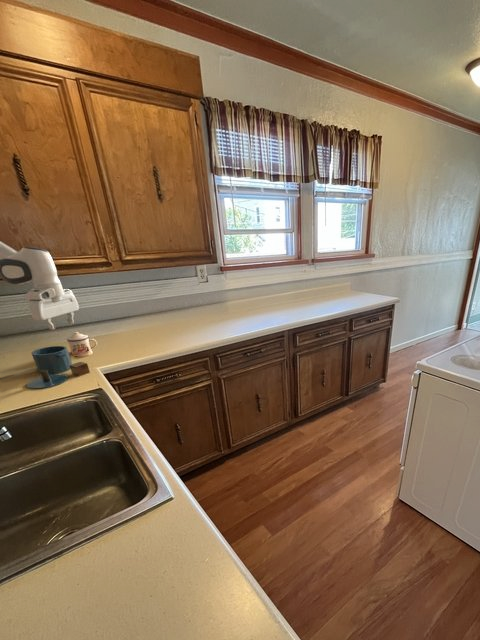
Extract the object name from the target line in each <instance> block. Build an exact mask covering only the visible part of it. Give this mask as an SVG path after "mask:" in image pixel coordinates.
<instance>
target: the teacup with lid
mask: <svg viewBox="0 0 480 640" xmlns="http://www.w3.org/2000/svg"><path fill="white" fill-rule="evenodd" d="M66 341H67V343H68V345H69V349H70V353H71V354H72V355H73V357H74V358H85V357H89V356H91V355H92V354H93V349H95V348H97V345H98V342H97V340H96V339H94V338H89V336H88V334H82V333H79V332H78V331H74V332H73V334H72V335H70V336H68V337H67V338H66ZM90 341H93V342H94V346H91V344H90Z"/></svg>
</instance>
